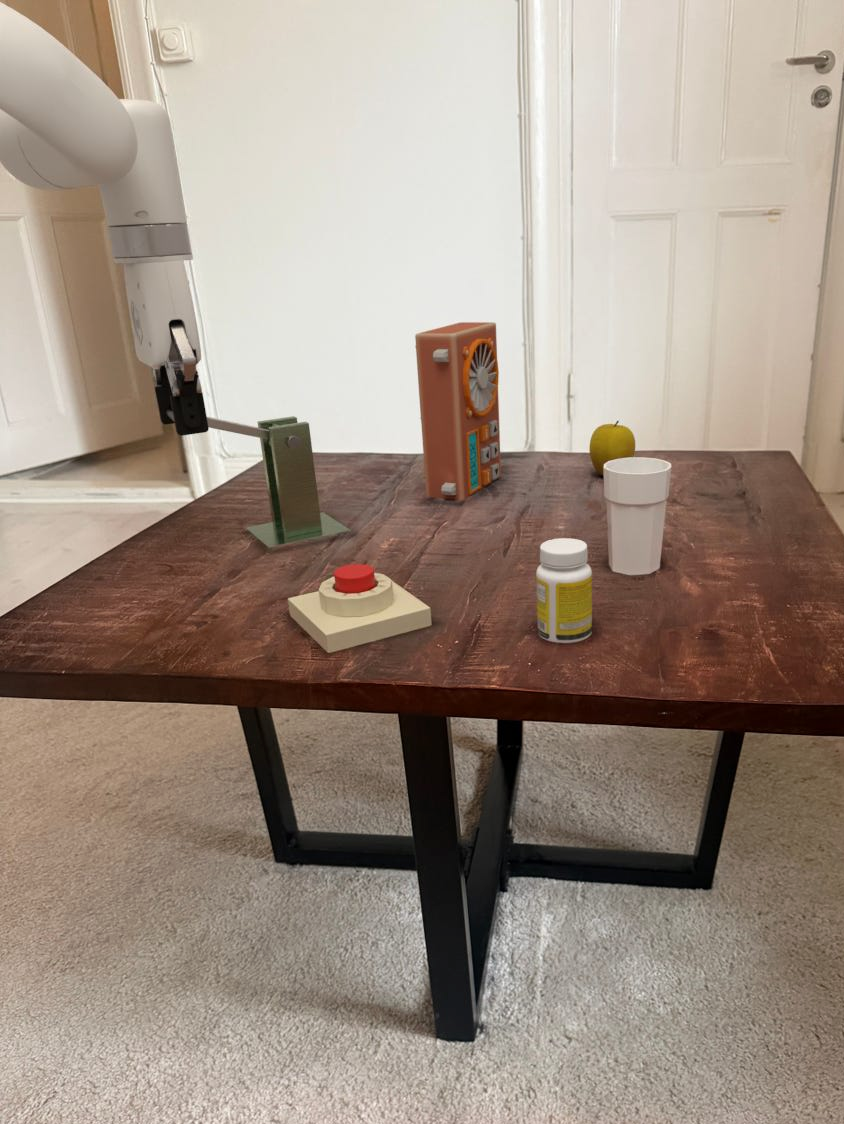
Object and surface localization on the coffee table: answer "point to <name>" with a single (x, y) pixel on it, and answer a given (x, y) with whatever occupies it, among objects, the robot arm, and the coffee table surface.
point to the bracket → (291, 486)
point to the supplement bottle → (564, 591)
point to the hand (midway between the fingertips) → (184, 426)
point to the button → (354, 579)
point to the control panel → (459, 408)
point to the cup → (636, 512)
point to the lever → (232, 426)
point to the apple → (610, 445)
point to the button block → (358, 614)
